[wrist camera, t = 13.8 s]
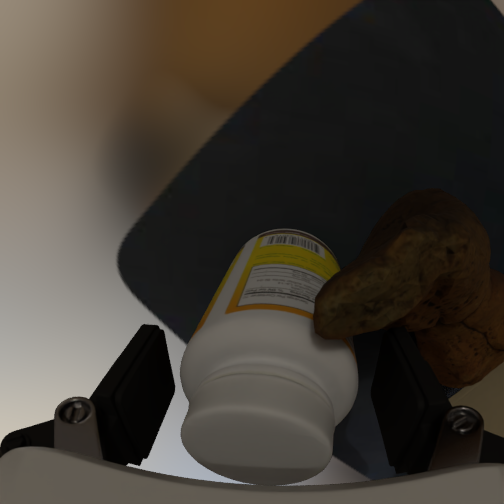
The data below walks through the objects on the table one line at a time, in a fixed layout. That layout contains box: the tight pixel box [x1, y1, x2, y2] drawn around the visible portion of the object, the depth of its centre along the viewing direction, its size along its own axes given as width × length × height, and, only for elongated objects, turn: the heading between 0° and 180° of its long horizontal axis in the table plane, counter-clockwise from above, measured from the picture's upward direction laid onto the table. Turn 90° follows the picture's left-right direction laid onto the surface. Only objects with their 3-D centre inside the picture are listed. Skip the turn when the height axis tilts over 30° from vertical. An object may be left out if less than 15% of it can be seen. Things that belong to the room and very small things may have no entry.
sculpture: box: [313, 188, 504, 388], centre depth 11 cm, size 8×10×15 cm
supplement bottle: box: [180, 229, 358, 485], centre depth 12 cm, size 6×6×10 cm
